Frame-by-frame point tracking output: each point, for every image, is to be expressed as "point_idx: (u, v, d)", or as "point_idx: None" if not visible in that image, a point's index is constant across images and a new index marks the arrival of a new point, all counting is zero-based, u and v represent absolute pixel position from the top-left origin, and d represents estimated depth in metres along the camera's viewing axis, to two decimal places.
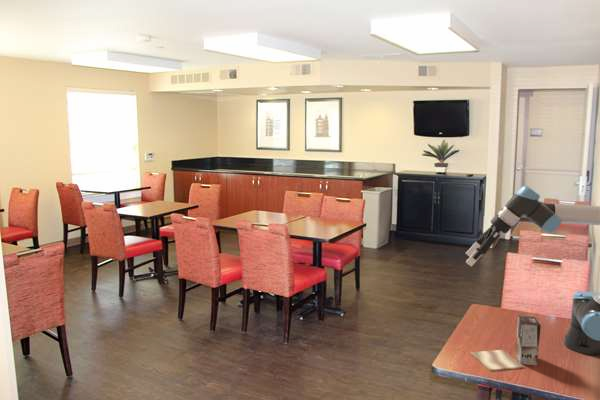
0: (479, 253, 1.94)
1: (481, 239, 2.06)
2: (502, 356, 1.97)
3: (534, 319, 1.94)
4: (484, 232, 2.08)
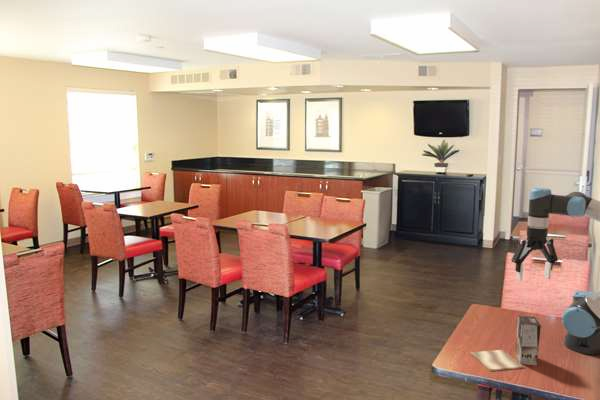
0: (516, 264, 2.02)
1: (545, 256, 2.04)
2: (502, 356, 1.97)
3: (534, 319, 1.94)
4: None
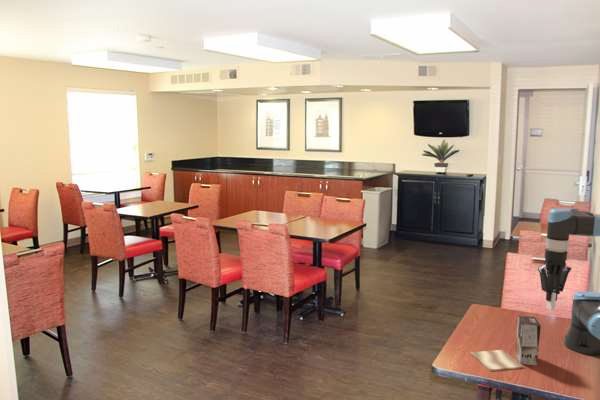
0: (547, 293, 1.93)
1: None
2: (502, 356, 1.97)
3: (534, 319, 1.94)
4: None
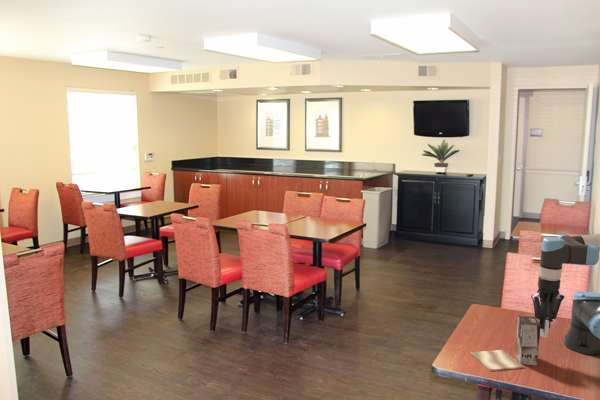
0: (540, 321, 1.94)
1: None
2: (502, 356, 1.97)
3: (534, 319, 1.94)
4: None
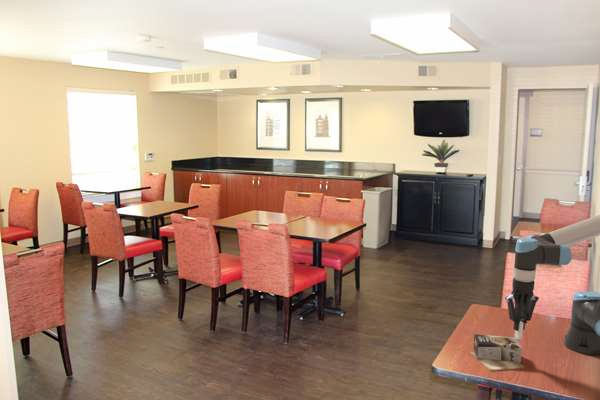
0: (515, 322, 1.92)
1: (521, 312, 1.93)
2: None
3: (475, 339, 1.99)
4: None
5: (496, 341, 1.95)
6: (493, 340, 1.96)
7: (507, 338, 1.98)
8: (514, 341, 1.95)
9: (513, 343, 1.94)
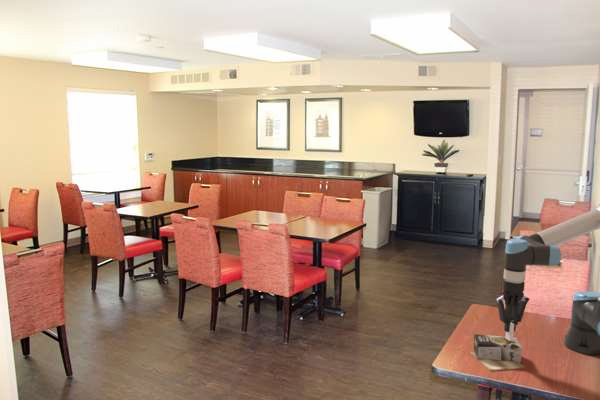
0: (505, 324, 1.91)
1: (511, 314, 1.92)
2: None
3: (475, 339, 1.99)
4: None
5: (496, 341, 1.95)
6: (493, 340, 1.96)
7: None
8: (514, 341, 1.95)
9: (513, 343, 1.94)
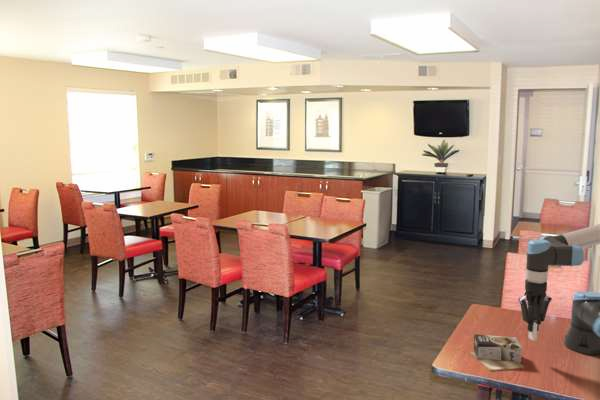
0: (528, 323, 1.93)
1: None
2: None
3: (475, 339, 1.99)
4: None
5: (496, 341, 1.95)
6: (493, 340, 1.96)
7: (507, 338, 1.98)
8: (514, 341, 1.95)
9: (513, 343, 1.94)
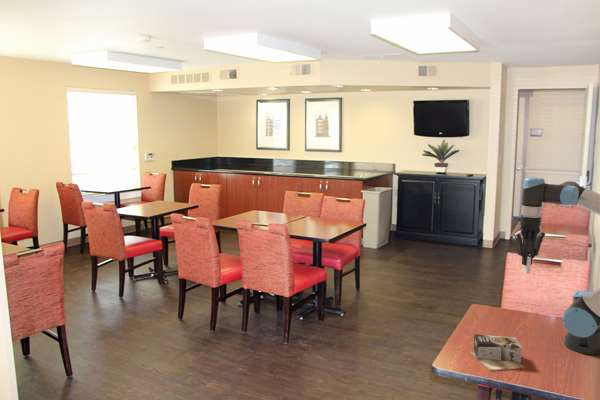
0: (523, 257, 2.04)
1: None
2: None
3: (475, 339, 1.99)
4: None
5: (496, 341, 1.95)
6: (493, 340, 1.96)
7: (507, 338, 1.98)
8: (514, 341, 1.95)
9: (513, 343, 1.94)
